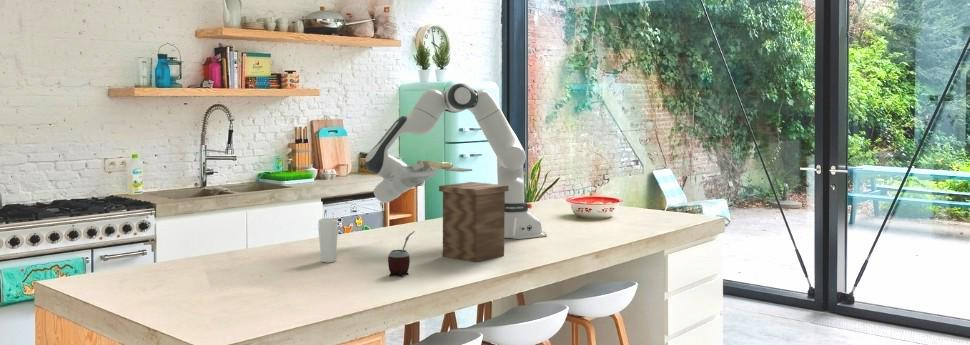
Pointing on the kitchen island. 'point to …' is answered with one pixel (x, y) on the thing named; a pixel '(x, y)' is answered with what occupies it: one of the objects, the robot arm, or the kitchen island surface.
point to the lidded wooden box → (473, 220)
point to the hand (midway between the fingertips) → (427, 163)
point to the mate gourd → (399, 261)
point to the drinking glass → (328, 239)
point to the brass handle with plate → (442, 166)
